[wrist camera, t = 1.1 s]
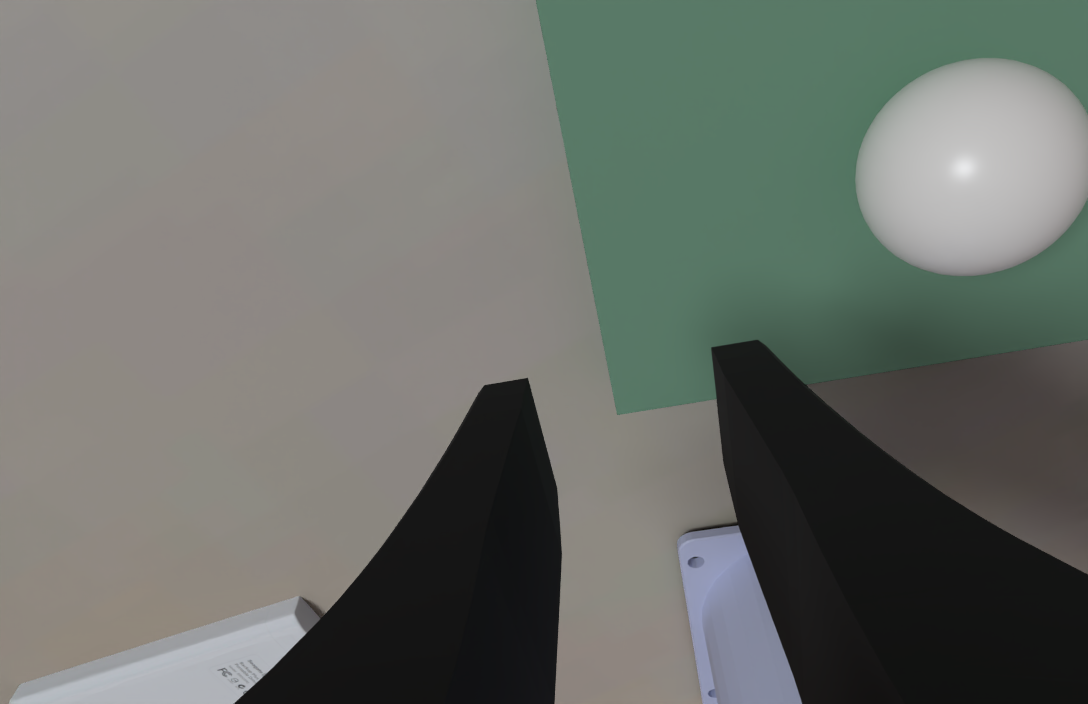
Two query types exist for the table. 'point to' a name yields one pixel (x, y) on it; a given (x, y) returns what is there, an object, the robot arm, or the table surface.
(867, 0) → the putting deck
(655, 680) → the table surface
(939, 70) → the ball
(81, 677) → the external hard drive
